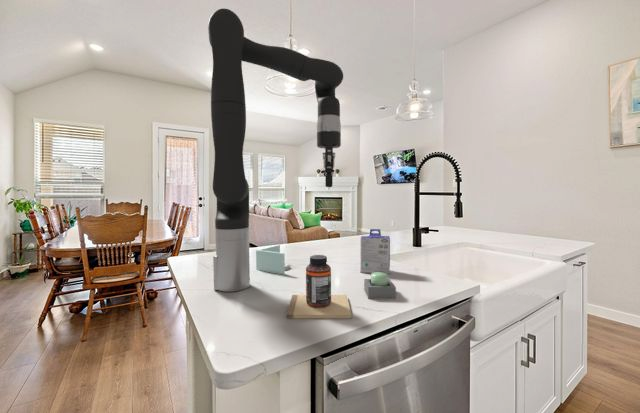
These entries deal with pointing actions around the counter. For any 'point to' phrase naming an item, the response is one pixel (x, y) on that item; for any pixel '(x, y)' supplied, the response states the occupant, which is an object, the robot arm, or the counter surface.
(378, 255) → the ink cartridge box
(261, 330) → the counter surface
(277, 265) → the l-shaped corner panel
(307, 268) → the supplement bottle
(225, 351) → the counter surface
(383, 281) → the button
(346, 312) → the sketchbook
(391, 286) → the button housing
